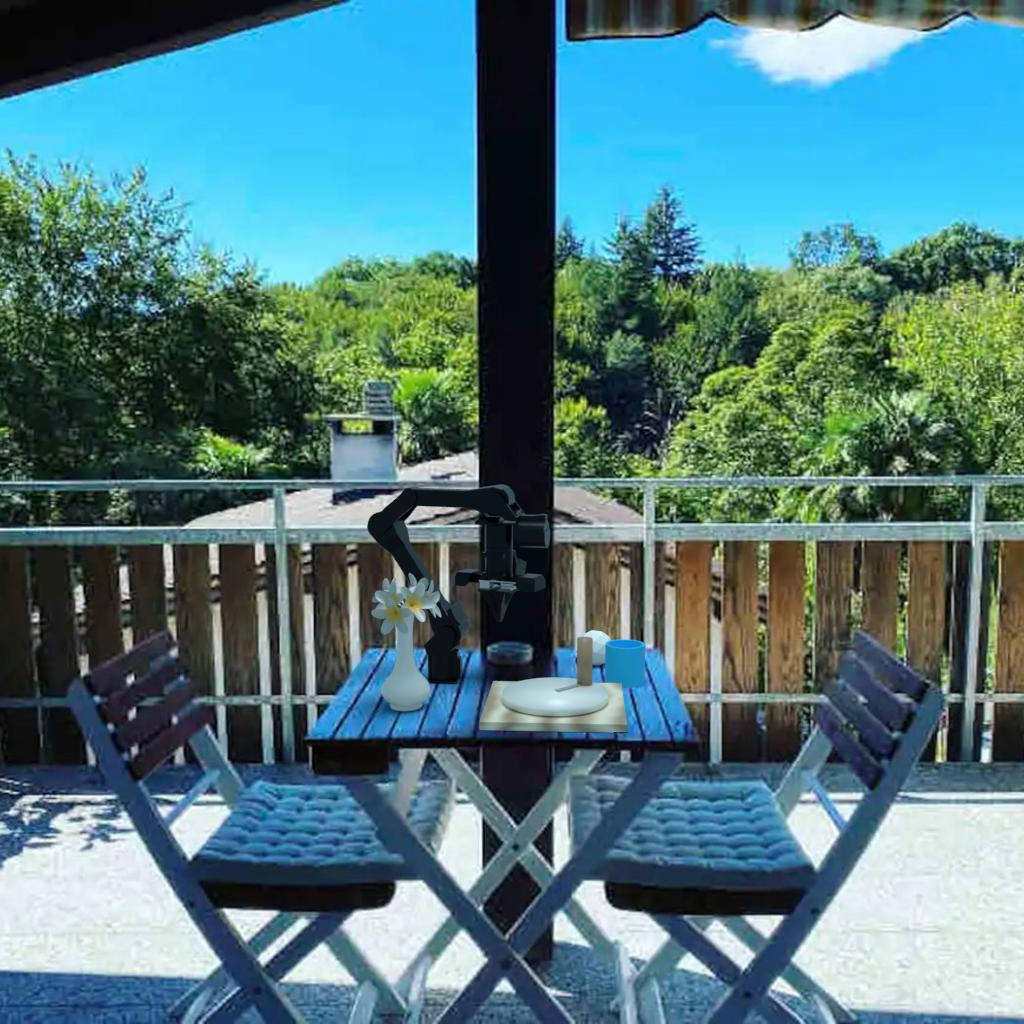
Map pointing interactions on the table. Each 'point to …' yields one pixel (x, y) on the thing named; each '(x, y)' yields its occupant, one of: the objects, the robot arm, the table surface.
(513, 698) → the dial
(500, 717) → the dial board
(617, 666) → the mug
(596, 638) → the ball
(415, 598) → the flower vase
